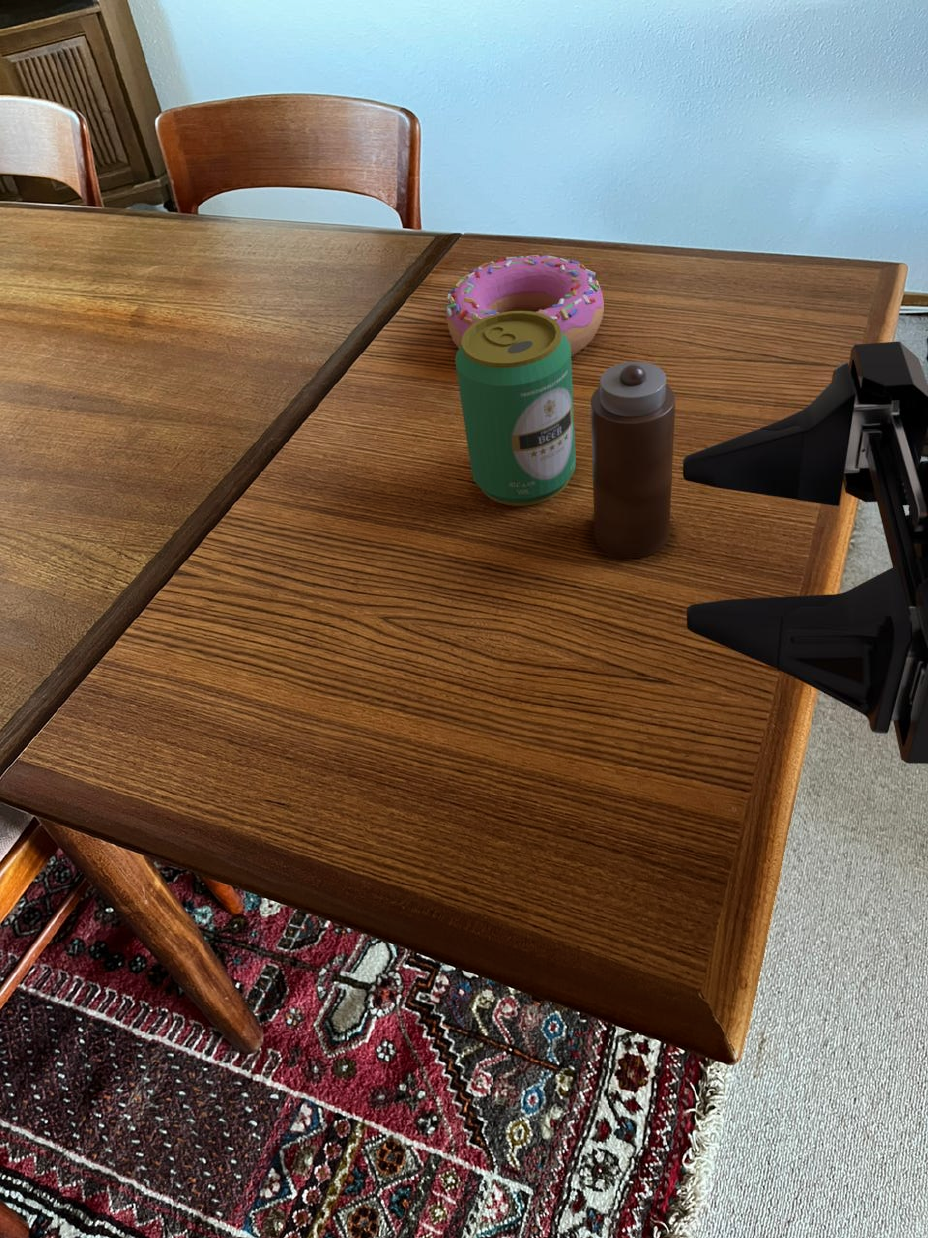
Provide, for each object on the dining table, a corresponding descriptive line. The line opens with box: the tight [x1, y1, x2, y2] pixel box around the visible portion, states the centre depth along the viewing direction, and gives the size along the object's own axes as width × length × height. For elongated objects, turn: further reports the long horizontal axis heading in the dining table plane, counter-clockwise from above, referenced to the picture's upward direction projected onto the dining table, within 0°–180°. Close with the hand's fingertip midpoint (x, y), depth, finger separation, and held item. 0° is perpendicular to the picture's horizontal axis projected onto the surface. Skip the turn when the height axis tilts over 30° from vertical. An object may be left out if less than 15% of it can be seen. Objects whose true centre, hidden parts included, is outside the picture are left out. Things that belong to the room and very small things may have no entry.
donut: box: [445, 254, 605, 357], centre depth 85 cm, size 14×14×5 cm
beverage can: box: [454, 311, 577, 507], centre depth 68 cm, size 8×8×12 cm
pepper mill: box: [590, 361, 676, 560], centre depth 61 cm, size 5×5×14 cm
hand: (684, 537), depth 39 cm, fingers open, 9 cm apart
